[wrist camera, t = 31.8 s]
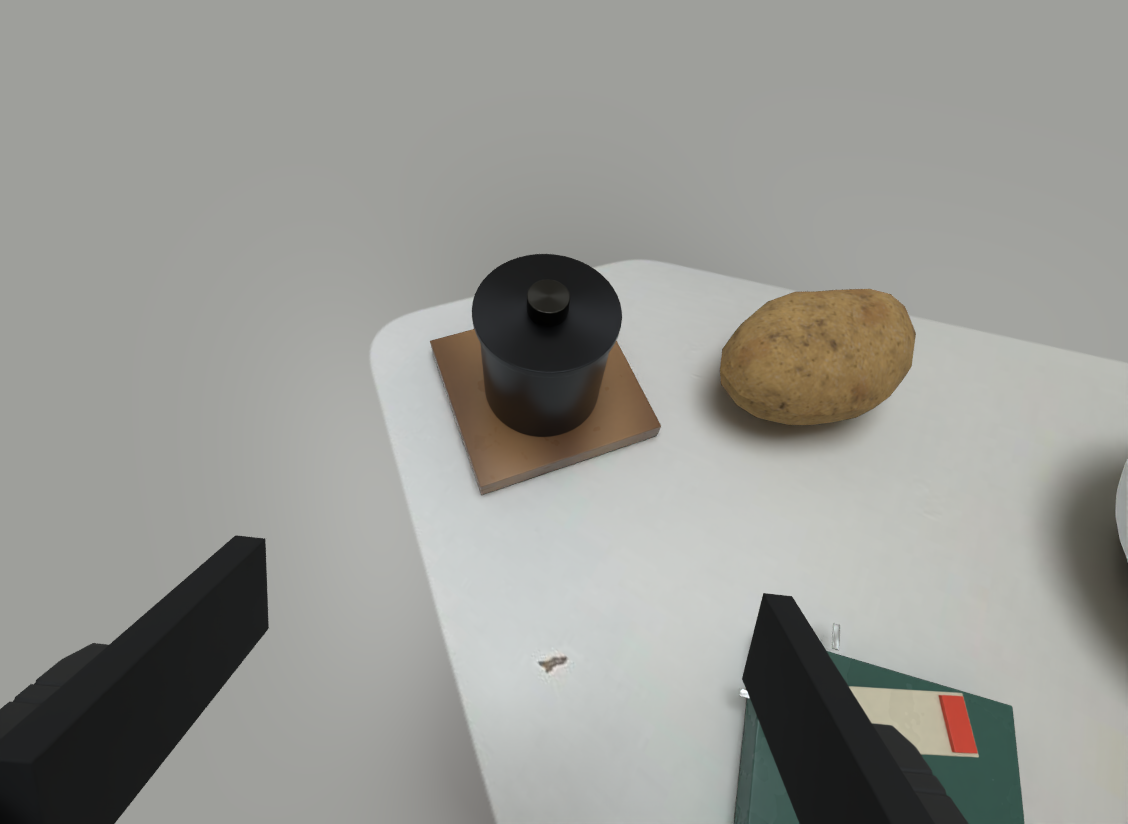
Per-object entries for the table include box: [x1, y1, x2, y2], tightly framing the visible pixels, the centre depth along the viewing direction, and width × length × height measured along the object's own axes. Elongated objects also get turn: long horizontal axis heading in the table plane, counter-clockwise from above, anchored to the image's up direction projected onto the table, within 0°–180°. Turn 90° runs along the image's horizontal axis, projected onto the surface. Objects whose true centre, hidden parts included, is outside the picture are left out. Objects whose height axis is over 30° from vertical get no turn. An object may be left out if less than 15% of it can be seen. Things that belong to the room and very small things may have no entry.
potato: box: [720, 289, 916, 425], centre depth 40 cm, size 10×14×8 cm
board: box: [430, 329, 661, 495], centre depth 41 cm, size 13×12×2 cm
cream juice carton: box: [849, 686, 979, 758], centre depth 28 cm, size 6×2×7 cm, turn 87°
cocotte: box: [472, 254, 622, 437], centre depth 36 cm, size 9×9×10 cm
